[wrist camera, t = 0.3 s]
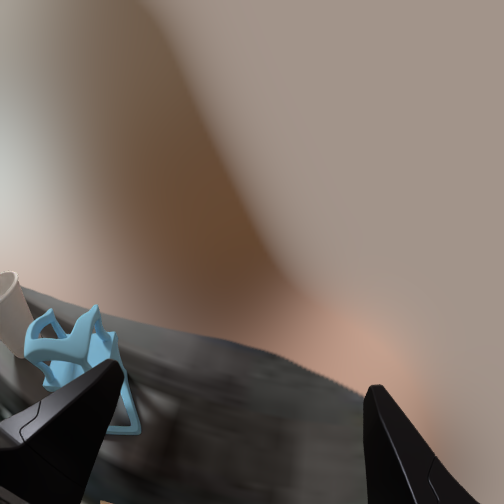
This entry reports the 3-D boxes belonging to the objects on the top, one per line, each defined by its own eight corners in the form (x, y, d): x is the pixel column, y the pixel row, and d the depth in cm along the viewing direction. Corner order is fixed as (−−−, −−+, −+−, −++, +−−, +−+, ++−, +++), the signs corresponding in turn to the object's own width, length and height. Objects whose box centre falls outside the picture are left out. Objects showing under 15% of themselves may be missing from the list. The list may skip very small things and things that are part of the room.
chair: (145, 369, 27) (105, 281, 21) (141, 435, 20) (79, 357, 14) (86, 371, 26) (38, 289, 20) (74, 431, 19) (3, 354, 13)
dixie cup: (52, 352, 28) (15, 292, 23) (8, 373, 24) (-32, 317, 18) (46, 317, 34) (18, 263, 28) (7, 336, 29) (-24, 284, 24)
